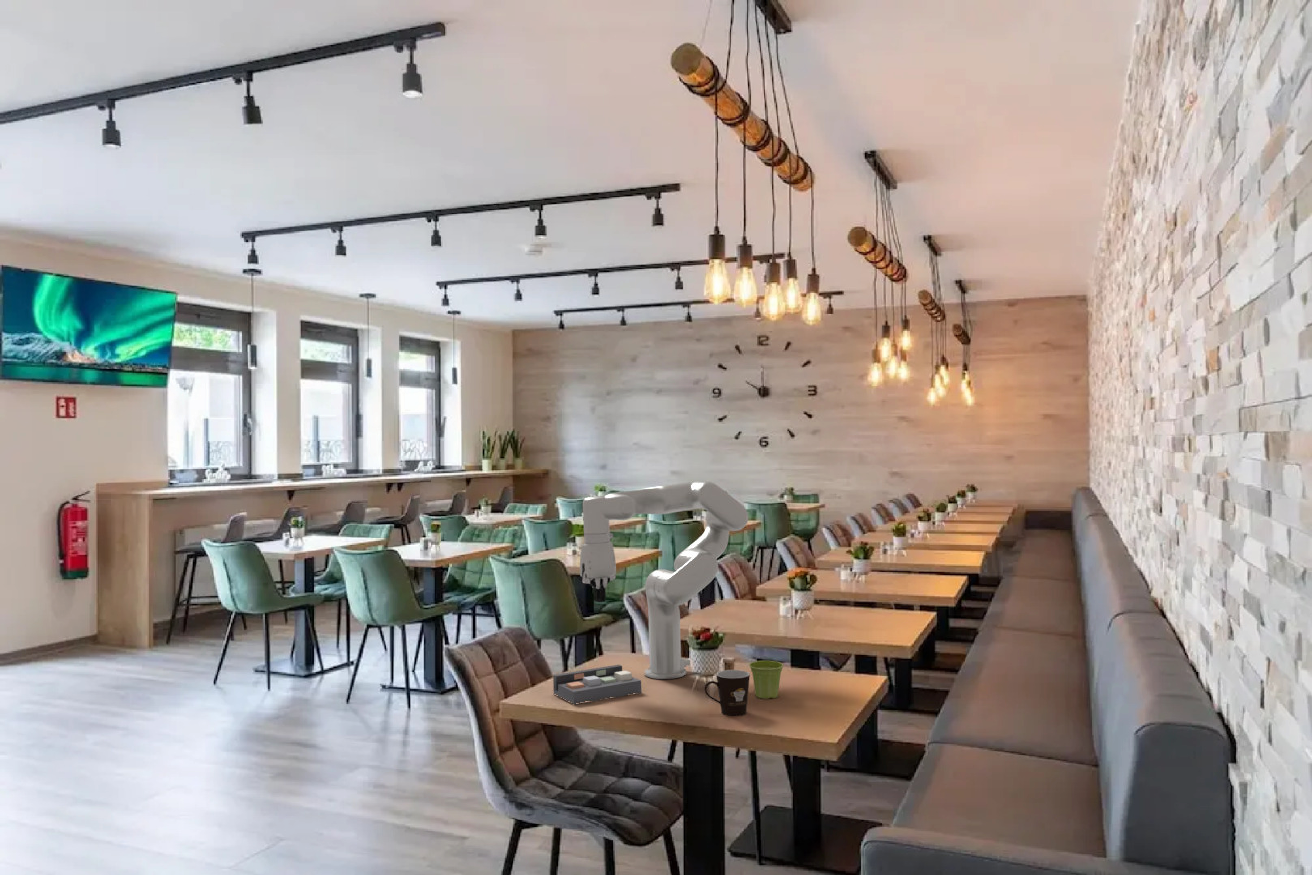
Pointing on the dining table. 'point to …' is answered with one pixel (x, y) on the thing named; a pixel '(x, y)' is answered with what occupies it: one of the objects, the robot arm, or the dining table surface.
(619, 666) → the keypad
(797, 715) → the dining table surface
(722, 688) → the coffee mug
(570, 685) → the key terracotta
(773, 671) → the plant pot
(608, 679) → the key sage
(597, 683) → the key slate
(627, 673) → the key cream
